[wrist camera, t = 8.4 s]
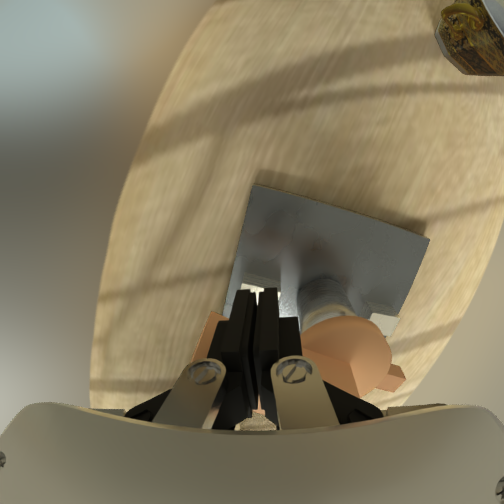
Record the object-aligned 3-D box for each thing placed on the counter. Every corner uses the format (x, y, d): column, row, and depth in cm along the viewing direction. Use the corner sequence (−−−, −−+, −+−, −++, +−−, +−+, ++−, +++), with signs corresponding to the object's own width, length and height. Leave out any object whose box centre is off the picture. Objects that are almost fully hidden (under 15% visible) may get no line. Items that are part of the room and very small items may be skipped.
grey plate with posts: (359, 369, 27) (377, 426, 19) (216, 343, 26) (199, 404, 19) (423, 235, 21) (476, 269, 14) (253, 183, 21) (243, 197, 13)
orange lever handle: (421, 340, 15) (456, 396, 10) (367, 400, 18) (384, 458, 12) (234, 259, 14) (212, 318, 9) (195, 343, 16) (169, 411, 11)
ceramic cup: (469, 14, 12) (518, -11, 3) (501, 93, 15) (563, 87, 6) (379, 2, 14) (422, -52, 5) (420, 93, 17) (493, 71, 8)
